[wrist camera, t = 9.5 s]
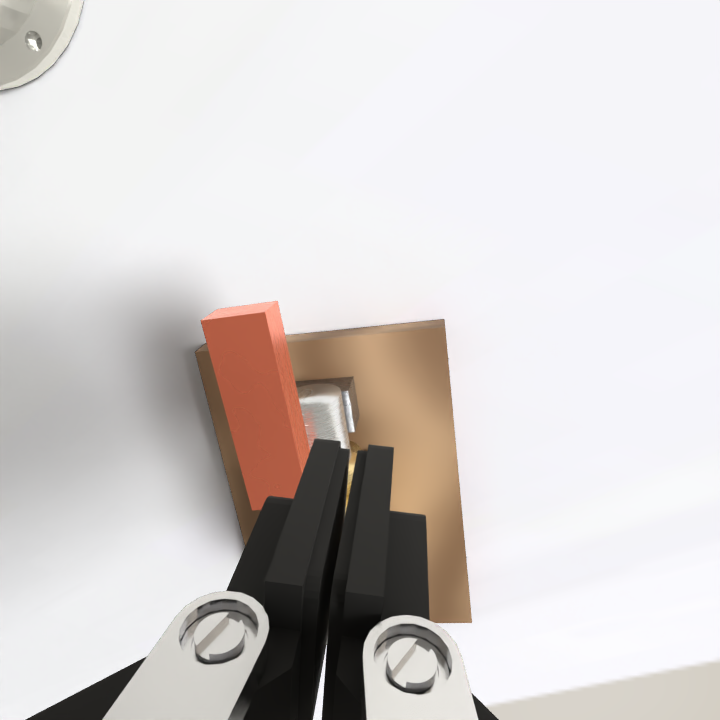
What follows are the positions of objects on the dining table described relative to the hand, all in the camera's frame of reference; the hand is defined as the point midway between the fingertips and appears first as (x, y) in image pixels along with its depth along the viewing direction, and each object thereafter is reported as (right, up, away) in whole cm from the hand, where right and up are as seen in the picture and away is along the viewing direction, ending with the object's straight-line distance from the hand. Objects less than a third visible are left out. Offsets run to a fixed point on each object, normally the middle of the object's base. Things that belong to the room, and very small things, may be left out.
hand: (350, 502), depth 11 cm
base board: (-1, -5, +22) cm, 23 cm away
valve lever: (-3, -2, +11) cm, 12 cm away
